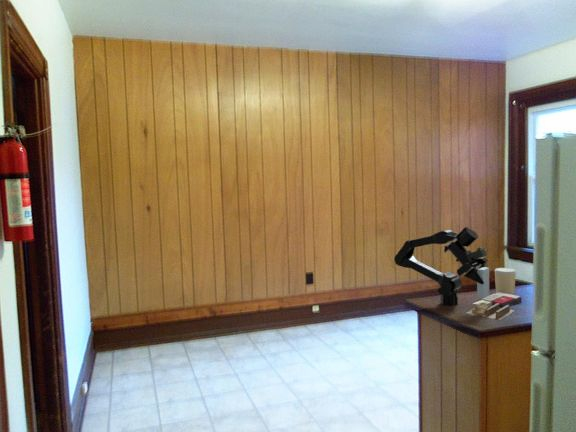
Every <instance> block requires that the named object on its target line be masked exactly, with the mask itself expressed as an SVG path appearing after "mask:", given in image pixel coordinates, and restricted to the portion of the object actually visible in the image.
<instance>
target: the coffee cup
mask: <svg viewBox="0 0 576 432" xmlns="http://www.w3.org/2000/svg"><path fill="white" fill-rule="evenodd" d="M516 273H517V271H516V269H515V268H511V267H510V268H509V267H498V268H495V269H494V282H495V284H494V285H495V293H498V292H501V293H506V294H511V295H515V289H516V288H515V287H516Z"/></svg>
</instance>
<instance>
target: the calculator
mask: <svg viewBox="0 0 576 432" xmlns="http://www.w3.org/2000/svg"><path fill="white" fill-rule="evenodd" d="M481 300H484V301H489V302H492V306H493V305H495V304H497V303H499V304H500V308H503V307H505V306H506V305H510V306H513V305H516V304H522V303H523V302H522V296H520V295H515V294H514V295H511V294H506V293H501V292H498V293H496V292H495V293H493V294H489V296H487V297H486V298H484V299H482V298H480V299H479V301H481Z"/></svg>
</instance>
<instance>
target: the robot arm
mask: <svg viewBox="0 0 576 432" xmlns="http://www.w3.org/2000/svg"><path fill="white" fill-rule="evenodd" d="M478 238H479V234H477V232H476V231H474V230H473V229H471V228H470V227H468V226H464V227H463V229H462V230H461V231H460V232H459V233H458V232H454V231H453V230H452V229H445V230H441V231H439V232H436V233H434V234H431V235H429V236H424V237H420V238H414V239H409V240H406V241H405V242H404V243H403V246H402V247H400V249H399V250H398V252H397V254H395V256H394V263H395V265H396V266H399V267H401V268H406V269H407V268H408V269H412V270H413V271H415V272H418V273H419V274H421V275H423V276H425V277H427V278H429V279H431V280H432V281H435V282H437V284H438V285H439V286H440V287H438V288H437V292H438V294H439V297H440V298H439V299H440V300H439V301H440V305H442V306H445V307H446V306H447V307H451V306H455V305H456V306H457V305H459V304H458V303H459V302H458V301H459V299H458V298H459V296H458V295H457V292H459V290H460V289H461V287H462V285H463V282H462V279H461V278H460V277H462V276H463V277H465V278H467V279H470V280H472V281H473V282H476V283H477V282H478V283H480V284H484V282H483V280H482V279H481V277H480V276H479V274H478V273H477V269H480V268H482V267H486V265H487V263H488V262H489V260H488V259H487V258H486V256H487V249H485V247H483V246H480V247H477V249H476V250H475V251H471V250H468V249H467V248H468V247H470V246H471V245H472V244H473V243H474V242H475V241H477V240H478ZM433 244H434V245H444V247H443V248H444V250H443V251H444V253H447V252H450V254H452V255H453V256H454V257H455V262H456V263H458V262H459V263H460V264H461V266H460V267H459V268H458V269H456V274H454V273H453V272H450V271H447V272H445V273H443V272H441V271H438V270H437V269H435V268H433V267H430V266H429V265H426V264H425V263H423V262H421V261H419V260H417V258H415V256H414V254H415V249H416V248H417V247H424V246H427V245H429V246H430V245H433ZM445 244H447V245H445ZM466 247H467V248H466ZM458 276H459V277H458ZM489 282H491V277H490V276H489Z"/></svg>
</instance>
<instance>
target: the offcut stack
mask: <svg viewBox="0 0 576 432" xmlns="http://www.w3.org/2000/svg"><path fill="white" fill-rule="evenodd" d="M480 300H481V299H480ZM480 300H478V301H476V302H473V303H472V307H473V308H472V309H471V310H472V312H476V313H481V314H485V310H486V309H488V308H489V307H491V306H492V302H489V301H484V300H481V301H480Z"/></svg>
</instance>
